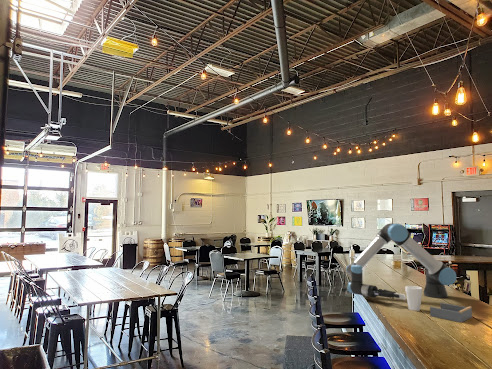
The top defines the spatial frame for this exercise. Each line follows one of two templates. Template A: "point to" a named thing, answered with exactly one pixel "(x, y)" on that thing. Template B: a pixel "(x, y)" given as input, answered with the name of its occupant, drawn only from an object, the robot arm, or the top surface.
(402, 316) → the top surface
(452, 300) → the top surface
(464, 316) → the box
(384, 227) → the robot arm
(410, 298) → the foam cup
